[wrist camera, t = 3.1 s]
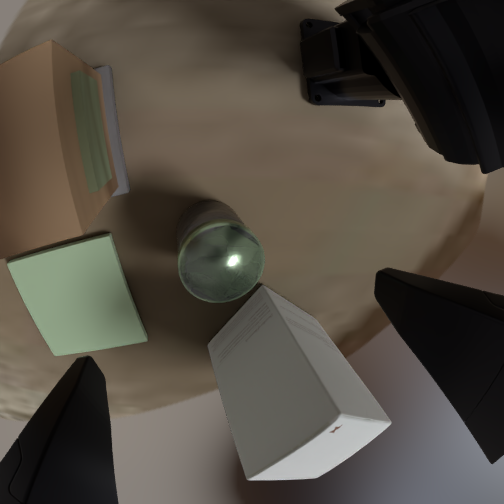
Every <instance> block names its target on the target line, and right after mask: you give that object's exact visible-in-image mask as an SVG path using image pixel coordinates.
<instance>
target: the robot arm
mask: <svg viewBox="0 0 504 504" xmlns="http://www.w3.org/2000/svg"><path fill="white" fill-rule="evenodd" d="M334 9H335V10H336V11H337V12H338V13H339V14H340V16H342V15H343V17H344V18H345V19H346V21H344V22H342V23H336V22H330V21H323V20H315V19H305V20H303V21H301V23H300V29H301V36H302V42H301V43H300V46H301V54H302V62H303V71H304V76H305V77H306V78H307V87H308V97H309V101H310V103H311V104H313V105H342V106H368V107H383V106H384V105H385V100H403V102H404V104H405V105H406V107H407V109H408V111H409V112H410V114H411V116H412V118H413V120H414V121H415V126H416V127H417V129H418V131H419V132H420V133H421V135H422V137H423V139H424V140H425V142H426V143H427V145H428V146H429V148H431V149H433V150H434V151H436V152H437V153H439V154H441V155H443V156H444V159H445V160H446V161H448V162H453V163H457V164H467V165H476V164H479V165H480V168H481V172H482V173H483V174H487V173H490V172H492V171H495V170H497V169H500V168H502V167H504V0H347V1H345V2H344V3H342V4H340V5H339V6H337V7H336V8H334ZM306 23H307V24H309V25H310V28H308V27H307V26H306ZM316 95H317V96H318V98H319V99H318V101H316V100H315V96H316ZM378 100H380V103H379V102H378ZM374 295H375V298H376V300H377V302H378V303H379V305H380V306H381V308H382V309H383V311H384V312H385V314H386V315H387V317H388V318H389V320H390V321H391V323H392V325H393V326H394V328H395V329H396V331H397V332H398V334H399V335H400V336H401V337H402V339H403V340H404V341H405V343H406V344H407V345H408V346H409V348H410V349H411V350H412V352H413V353H414V354H415V355H416V357H417V358H418V359H419V361H420V362H421V363H422V365H423V366H424V367H425V369H426V370H427V371H428V373H429V374H430V375H431V377H432V378H433V379H434V381H435V382H436V383H437V385H438V386H439V387H440V389H441V390H442V391H443V393H444V394H445V396H446V397H447V399H448V400H449V401H450V403H451V404H452V406H453V407H454V408H455V410H456V411H457V413H458V414H459V416H460V417H461V419H462V420H463V421H464V423H465V425H466V426H467V427H468V429H469V431H470V432H471V434H472V435H473V437H474V438H475V440H476V441H477V443H478V444H479V446H480V448H481V449H482V451H483V452H484V454H485V455H486V457H487V459H488V460H489V462H490V463H491V464H493V463H494V462H496V461H497V460H498V459H499V458H500V457H502V456H503V455H504V296H503V295H499V294H495V293H491V292H487V291H481V290H479V289H474V288H471V287H467V286H463V285H458V284H454V283H450V282H446V281H442V280H438V279H434V278H430V277H426V276H422V275H417V274H413V273H409V272H405V271H401V270H397V269H392V268H384V269H382V270H379V271H378V272H377V273H376V278H375V289H374ZM0 504H118V497H117V490H116V483H115V474H114V465H113V452H112V438H111V424H110V415H109V407H108V399H107V391H106V381H105V377H104V375H103V373H102V371H101V370H100V369H99V367H98V366H97V364H96V363H95V361H94V360H93V358H92V357H91V356H83V357H79V358H77V359H76V360H75V362H74V363H73V364H72V365H71V367H70V368H69V369H68V370H67V372H66V373H65V374H64V375H63V377H62V378H61V379H60V380H59V382H58V383H57V384H56V386H55V387H54V388H53V390H52V391H51V392H50V393H49V395H48V396H47V397H46V399H45V400H44V401H43V403H42V404H41V405H40V407H39V408H38V410H37V411H36V412H35V414H34V415H33V416H32V418H31V419H30V421H29V422H28V423H27V425H26V426H25V428H24V429H23V430H22V432H21V433H20V435H19V436H18V438H17V439H16V441H15V442H14V443H13V445H12V446H11V448H10V449H9V451H8V452H7V454H6V455H5V457H4V458H3V459H2V461H1V462H0Z"/></svg>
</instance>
